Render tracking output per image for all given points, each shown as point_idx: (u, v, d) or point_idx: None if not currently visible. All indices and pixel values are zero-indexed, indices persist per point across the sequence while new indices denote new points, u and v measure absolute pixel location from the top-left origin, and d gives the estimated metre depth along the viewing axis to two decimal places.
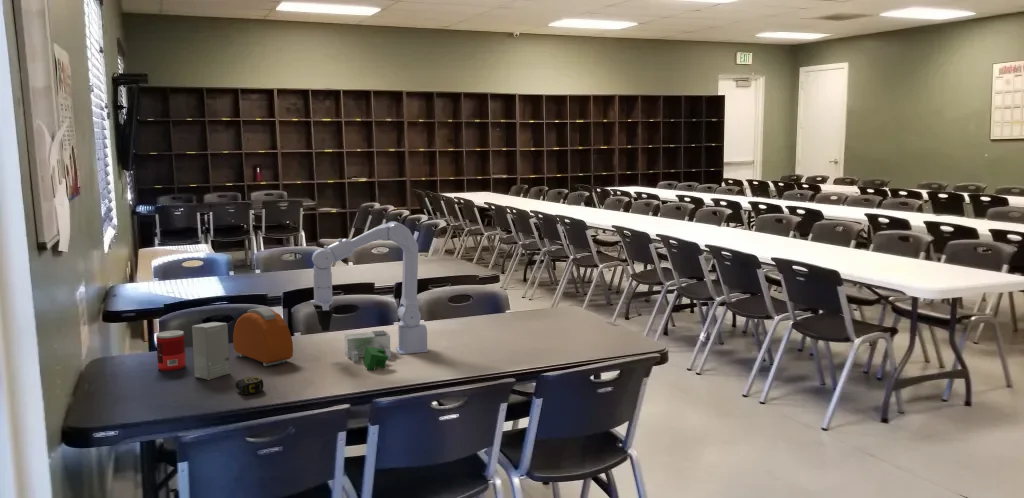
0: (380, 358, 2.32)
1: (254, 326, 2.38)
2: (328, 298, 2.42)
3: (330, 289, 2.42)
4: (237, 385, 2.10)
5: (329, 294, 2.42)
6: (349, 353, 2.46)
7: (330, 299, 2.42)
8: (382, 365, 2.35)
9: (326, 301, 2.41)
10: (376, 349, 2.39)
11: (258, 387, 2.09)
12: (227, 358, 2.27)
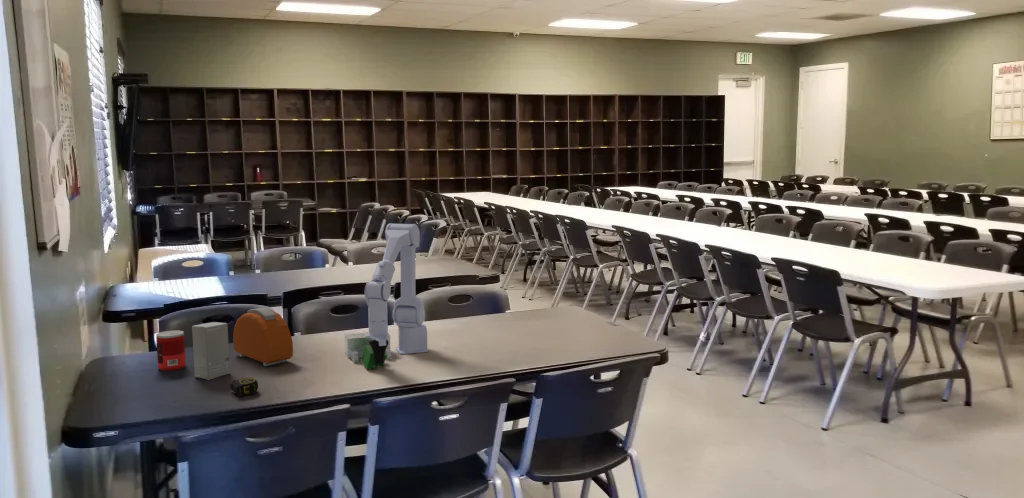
0: None
1: (254, 326, 2.38)
2: (384, 332, 2.29)
3: (386, 323, 2.29)
4: (231, 386, 2.09)
5: (384, 328, 2.29)
6: (349, 353, 2.46)
7: (386, 333, 2.29)
8: (381, 364, 2.36)
9: (382, 335, 2.28)
10: None
11: (252, 388, 2.08)
12: (227, 358, 2.27)
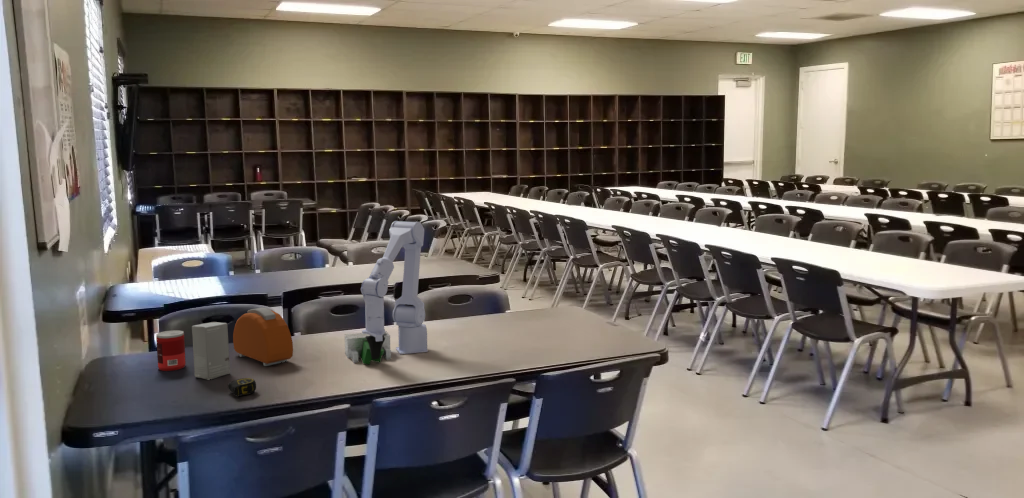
0: None
1: (254, 326, 2.38)
2: (380, 328, 2.34)
3: (382, 319, 2.34)
4: (229, 387, 2.09)
5: (381, 324, 2.34)
6: (349, 353, 2.46)
7: (382, 329, 2.35)
8: (378, 359, 2.41)
9: (378, 331, 2.33)
10: None
11: (251, 388, 2.08)
12: (227, 358, 2.27)
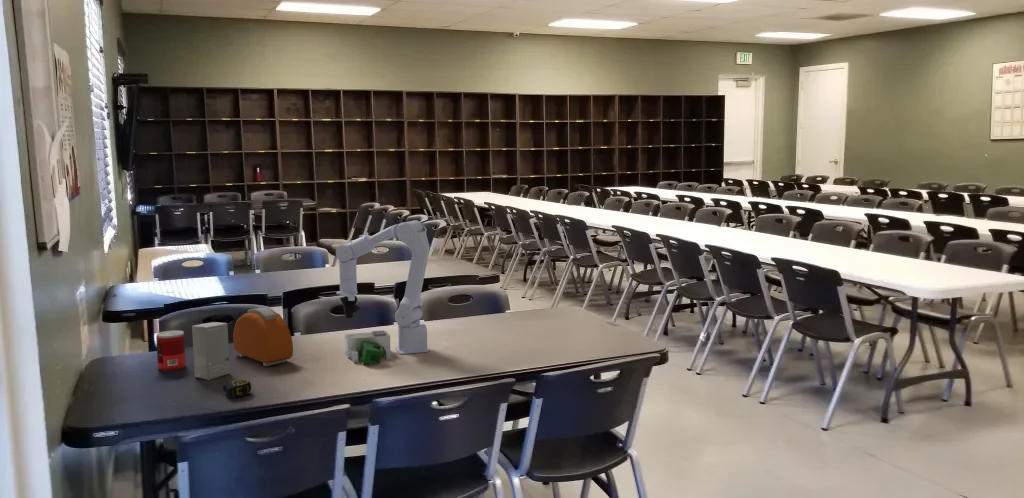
0: (375, 353, 2.38)
1: (254, 326, 2.38)
2: (353, 289, 2.58)
3: (355, 281, 2.59)
4: (224, 388, 2.08)
5: (354, 286, 2.58)
6: (349, 353, 2.46)
7: (355, 290, 2.59)
8: (377, 360, 2.41)
9: (351, 292, 2.58)
10: (373, 344, 2.45)
11: (245, 390, 2.07)
12: (227, 358, 2.27)
